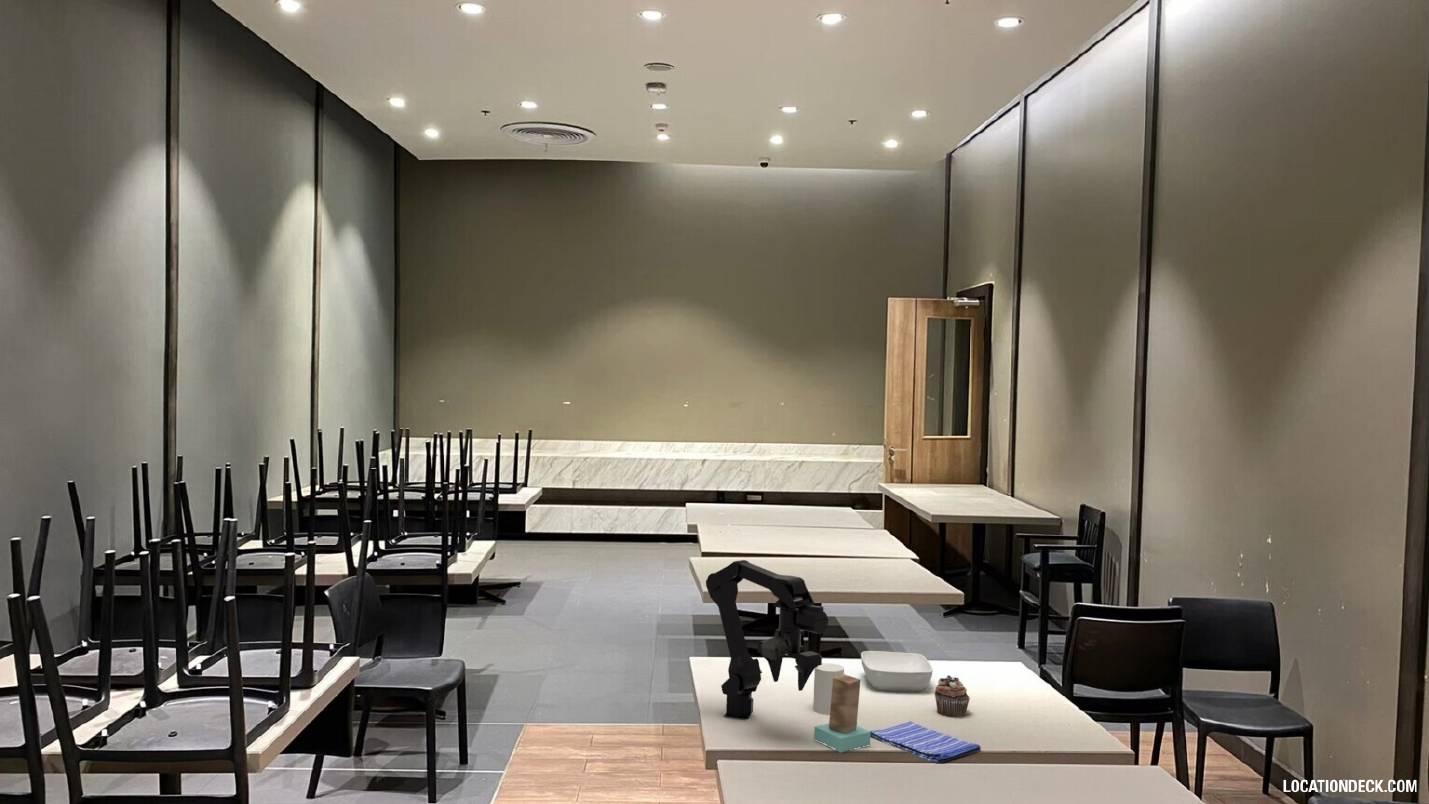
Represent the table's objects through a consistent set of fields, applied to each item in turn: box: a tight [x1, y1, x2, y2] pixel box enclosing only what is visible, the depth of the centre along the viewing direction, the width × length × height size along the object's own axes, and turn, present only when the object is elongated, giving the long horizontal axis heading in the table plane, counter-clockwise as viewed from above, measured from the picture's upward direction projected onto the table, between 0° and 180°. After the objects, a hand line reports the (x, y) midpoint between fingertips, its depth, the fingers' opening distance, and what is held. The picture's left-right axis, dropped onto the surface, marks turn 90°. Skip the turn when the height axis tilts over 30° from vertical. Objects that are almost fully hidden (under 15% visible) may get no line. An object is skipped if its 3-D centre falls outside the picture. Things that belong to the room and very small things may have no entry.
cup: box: [812, 662, 845, 716], centre depth 293 cm, size 8×8×12 cm
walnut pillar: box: [828, 673, 861, 734], centre depth 267 cm, size 5×5×13 cm
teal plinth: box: [813, 723, 871, 754], centre depth 267 cm, size 10×10×4 cm
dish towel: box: [869, 720, 982, 764], centre depth 269 cm, size 17×24×3 cm
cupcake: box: [934, 675, 971, 718], centre depth 295 cm, size 10×10×10 cm
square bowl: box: [860, 650, 934, 693], centre depth 320 cm, size 20×20×8 cm
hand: (787, 685), depth 274 cm, fingers open, 9 cm apart
